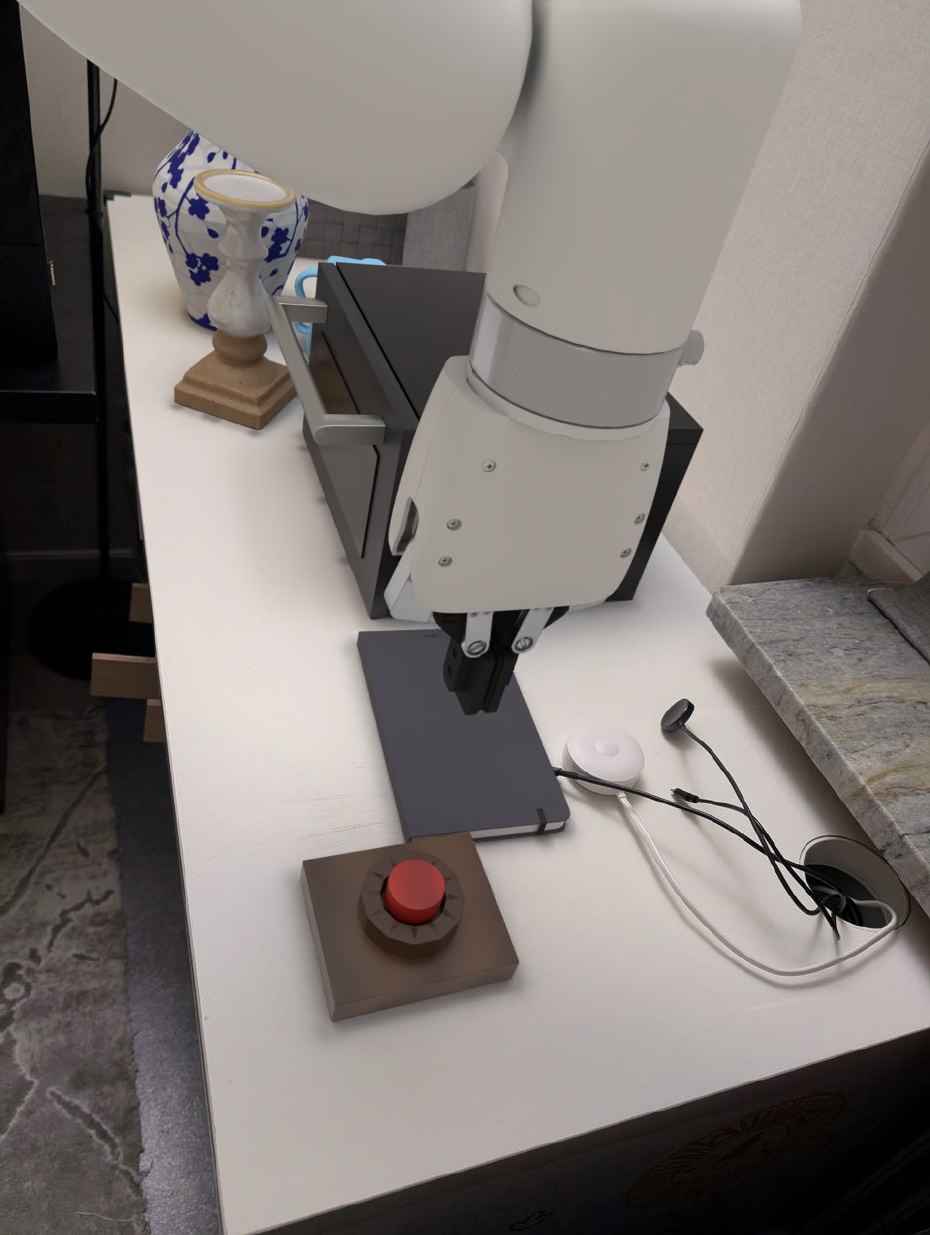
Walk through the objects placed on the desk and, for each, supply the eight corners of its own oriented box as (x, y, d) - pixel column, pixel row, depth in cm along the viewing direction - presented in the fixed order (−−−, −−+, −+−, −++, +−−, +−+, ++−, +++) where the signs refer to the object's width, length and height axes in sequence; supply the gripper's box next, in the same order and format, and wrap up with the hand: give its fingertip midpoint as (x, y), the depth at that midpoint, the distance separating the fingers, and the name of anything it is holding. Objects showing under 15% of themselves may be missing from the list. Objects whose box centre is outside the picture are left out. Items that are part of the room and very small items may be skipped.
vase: (176, 350, 112) (172, 80, 92) (140, 285, 123) (130, 33, 104) (320, 345, 121) (344, 97, 101) (274, 285, 132) (288, 52, 113)
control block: (331, 1021, 54) (338, 990, 52) (299, 878, 61) (304, 844, 58) (512, 978, 58) (527, 947, 56) (464, 849, 65) (475, 816, 63)
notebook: (356, 643, 79) (406, 849, 64) (358, 630, 78) (410, 837, 63) (491, 638, 83) (568, 831, 68) (495, 626, 82) (574, 819, 67)
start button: (392, 929, 55) (397, 914, 54) (378, 879, 58) (382, 863, 57) (447, 918, 57) (452, 903, 56) (430, 869, 59) (435, 854, 58)
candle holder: (217, 365, 111) (221, 159, 96) (299, 392, 110) (317, 188, 95) (171, 401, 103) (168, 182, 87) (260, 430, 102) (272, 214, 86)
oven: (389, 618, 82) (425, 427, 69) (317, 433, 104) (335, 261, 91) (632, 600, 92) (704, 429, 79) (520, 434, 113) (563, 278, 100)
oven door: (305, 622, 79) (328, 428, 67) (249, 431, 101) (259, 256, 88) (386, 617, 82) (423, 429, 70) (315, 432, 104) (333, 262, 91)
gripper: (692, 320, 38) (572, 631, 50) (352, 297, 33) (308, 653, 45) (789, 410, 33) (631, 733, 45) (408, 401, 28) (341, 771, 40)
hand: (470, 692), depth 45 cm, fingers closed
